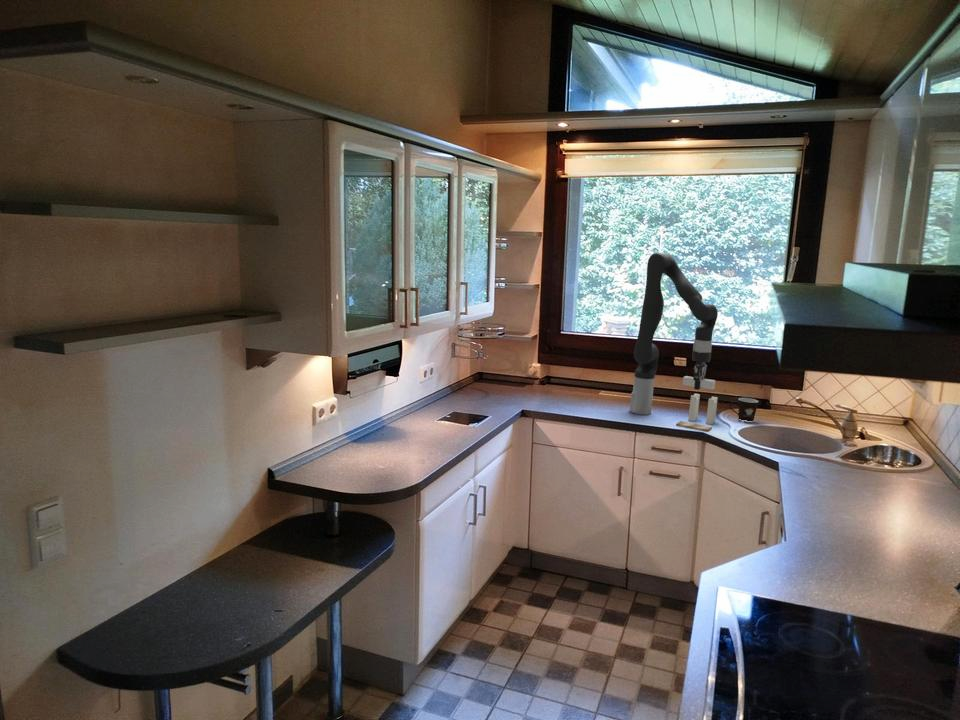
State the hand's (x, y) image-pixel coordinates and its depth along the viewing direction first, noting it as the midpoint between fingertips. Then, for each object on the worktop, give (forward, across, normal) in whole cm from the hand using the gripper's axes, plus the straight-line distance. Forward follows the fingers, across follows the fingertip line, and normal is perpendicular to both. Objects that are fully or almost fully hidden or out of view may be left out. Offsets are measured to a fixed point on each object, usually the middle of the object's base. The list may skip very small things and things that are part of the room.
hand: (698, 388), depth 291 cm
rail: (-1, 0, 0) cm, 1 cm away
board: (+18, 0, 0) cm, 18 cm away
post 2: (+18, -13, +4) cm, 22 cm away
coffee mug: (+18, -27, +15) cm, 36 cm away
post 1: (+18, -13, -4) cm, 22 cm away
